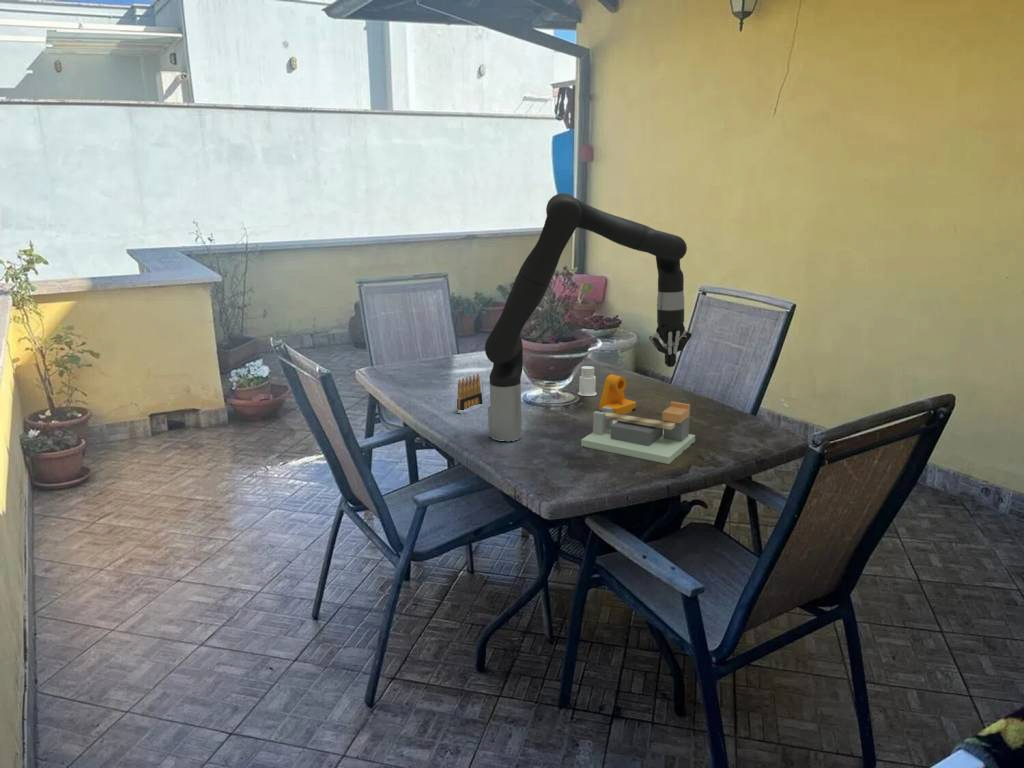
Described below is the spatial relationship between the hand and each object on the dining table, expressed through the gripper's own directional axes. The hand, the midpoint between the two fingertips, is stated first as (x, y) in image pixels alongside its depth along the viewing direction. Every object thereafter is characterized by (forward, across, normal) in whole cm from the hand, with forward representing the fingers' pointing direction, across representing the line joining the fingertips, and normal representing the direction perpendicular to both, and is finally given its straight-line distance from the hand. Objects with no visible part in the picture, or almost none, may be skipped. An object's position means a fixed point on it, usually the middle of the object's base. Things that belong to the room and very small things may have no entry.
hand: (670, 366), depth 206 cm
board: (+22, -10, 0) cm, 24 cm away
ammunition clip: (+20, -48, +50) cm, 72 cm away
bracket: (+22, -2, +30) cm, 38 cm away
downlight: (+22, -4, +52) cm, 56 cm away
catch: (+15, 0, -4) cm, 15 cm away
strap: (+16, -11, +1) cm, 19 cm away
